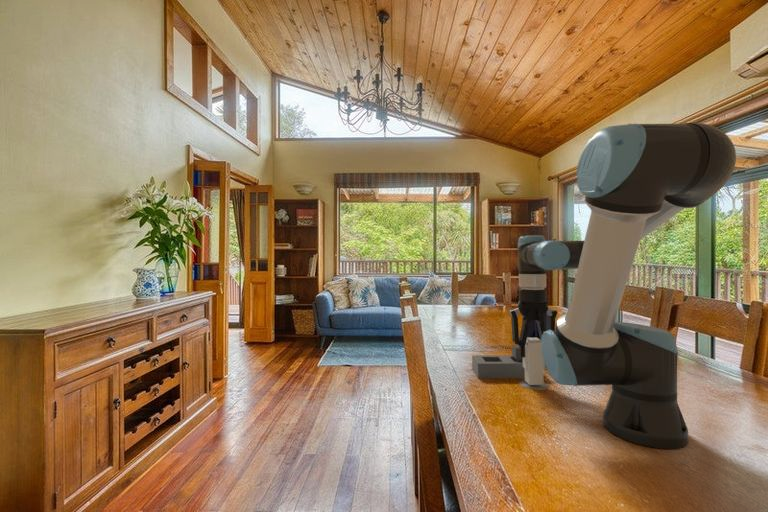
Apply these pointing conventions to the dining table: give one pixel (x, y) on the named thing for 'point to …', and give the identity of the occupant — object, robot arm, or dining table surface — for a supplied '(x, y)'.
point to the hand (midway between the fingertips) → (533, 367)
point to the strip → (499, 365)
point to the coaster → (533, 386)
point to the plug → (534, 362)
